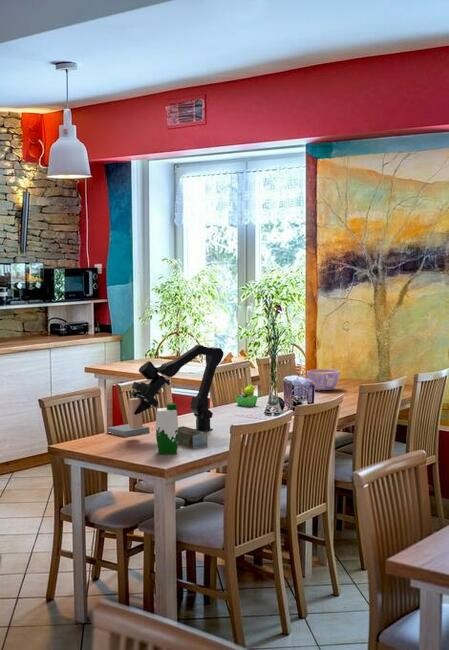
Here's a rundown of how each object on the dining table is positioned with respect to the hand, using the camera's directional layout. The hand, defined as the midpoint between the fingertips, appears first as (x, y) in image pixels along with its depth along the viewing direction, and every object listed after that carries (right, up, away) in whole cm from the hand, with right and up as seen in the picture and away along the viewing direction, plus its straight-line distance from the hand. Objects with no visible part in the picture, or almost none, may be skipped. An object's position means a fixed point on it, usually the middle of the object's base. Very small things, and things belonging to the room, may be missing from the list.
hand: (132, 413), depth 393 cm
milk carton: (+17, -13, -29) cm, 36 cm away
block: (+1, -7, +1) cm, 7 cm away
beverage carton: (+25, -12, -12) cm, 31 cm away
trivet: (-4, -11, +16) cm, 19 cm away
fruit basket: (+53, -5, +88) cm, 103 cm away
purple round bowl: (+100, 0, +138) cm, 171 cm away
